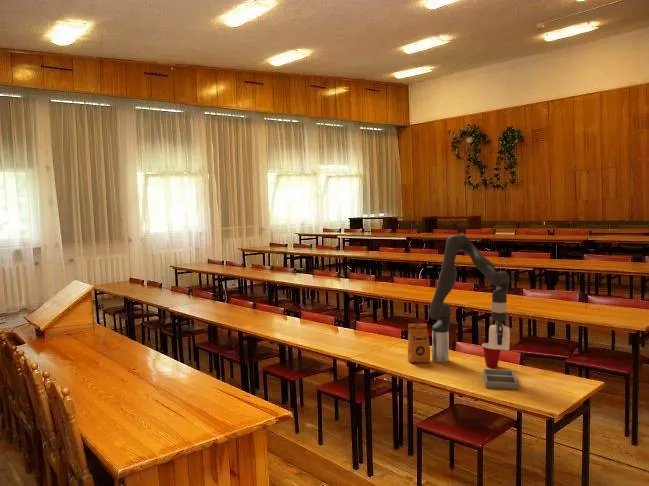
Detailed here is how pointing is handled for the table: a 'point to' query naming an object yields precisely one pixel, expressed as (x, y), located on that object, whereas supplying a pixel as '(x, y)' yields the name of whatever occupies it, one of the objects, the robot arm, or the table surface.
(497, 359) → the plastic cup
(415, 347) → the coffee package
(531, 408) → the table surface
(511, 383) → the grey divided tray
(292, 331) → the table surface
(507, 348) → the beige rounded slab
